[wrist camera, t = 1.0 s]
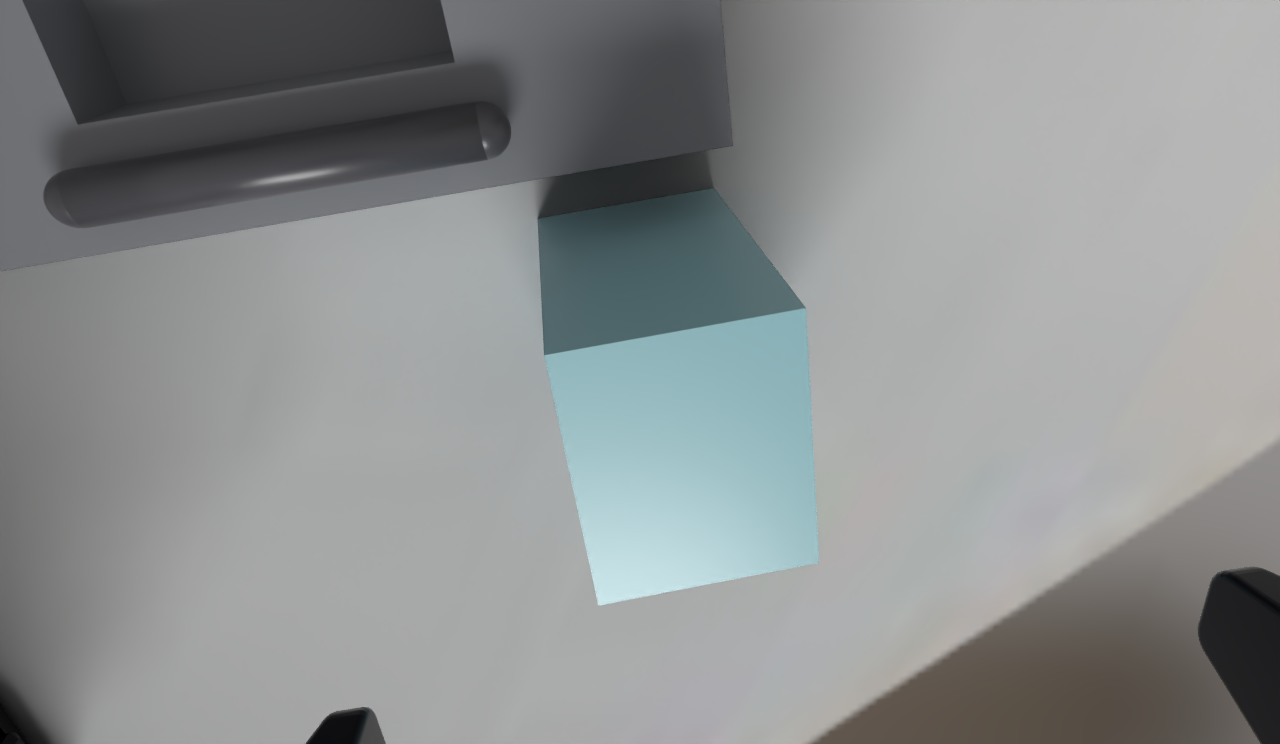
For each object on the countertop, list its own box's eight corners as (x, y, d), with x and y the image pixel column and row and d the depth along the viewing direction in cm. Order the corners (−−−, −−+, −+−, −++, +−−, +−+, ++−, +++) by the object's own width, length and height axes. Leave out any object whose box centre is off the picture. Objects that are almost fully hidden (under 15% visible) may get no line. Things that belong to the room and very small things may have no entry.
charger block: (576, 410, 21) (598, 605, 15) (537, 218, 19) (543, 355, 13) (733, 381, 21) (819, 562, 15) (713, 187, 19) (805, 307, 13)
